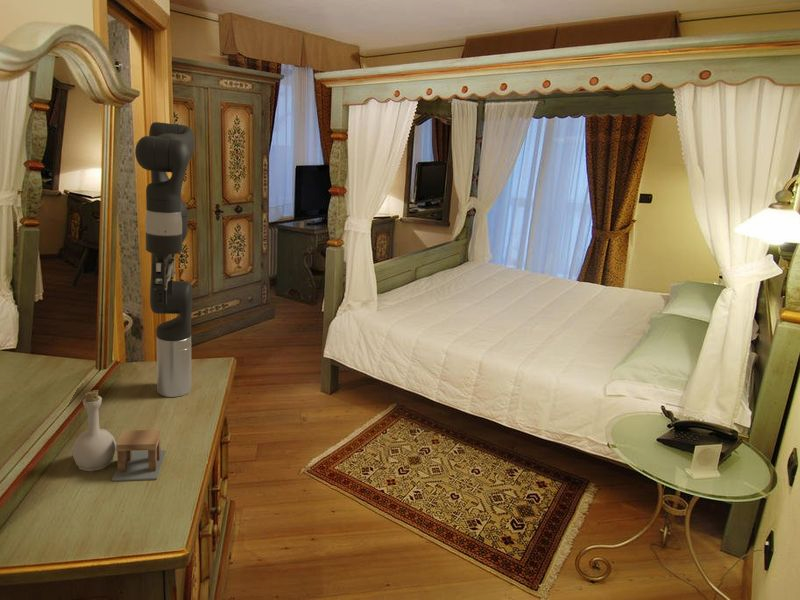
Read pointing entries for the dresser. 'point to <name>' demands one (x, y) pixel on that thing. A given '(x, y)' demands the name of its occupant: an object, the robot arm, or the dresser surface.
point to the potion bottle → (93, 439)
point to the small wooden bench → (138, 447)
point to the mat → (139, 468)
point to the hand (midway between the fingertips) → (164, 299)
